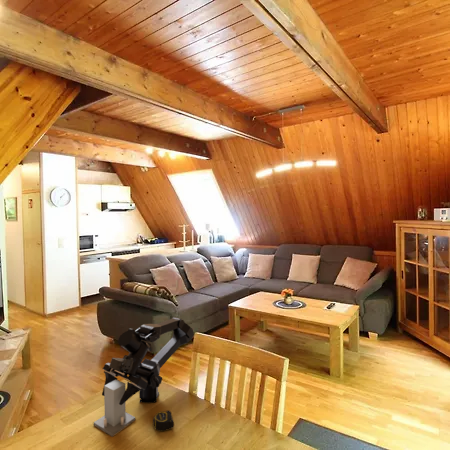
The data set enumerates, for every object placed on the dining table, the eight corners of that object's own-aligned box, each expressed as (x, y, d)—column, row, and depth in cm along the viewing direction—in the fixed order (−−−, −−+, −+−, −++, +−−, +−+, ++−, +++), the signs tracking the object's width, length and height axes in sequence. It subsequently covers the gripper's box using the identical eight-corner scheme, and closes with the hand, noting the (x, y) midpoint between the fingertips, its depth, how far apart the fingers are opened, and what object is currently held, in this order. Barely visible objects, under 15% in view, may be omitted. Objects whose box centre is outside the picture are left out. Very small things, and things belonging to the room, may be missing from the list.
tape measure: (174, 431, 111) (174, 420, 111) (153, 435, 109) (154, 424, 108) (171, 418, 117) (171, 408, 117) (152, 422, 115) (152, 412, 115)
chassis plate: (117, 409, 121) (116, 400, 121) (135, 419, 116) (135, 410, 116) (93, 425, 113) (93, 415, 113) (112, 436, 108) (112, 426, 107)
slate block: (116, 413, 118) (116, 379, 117) (125, 418, 115) (125, 383, 114) (104, 420, 114) (104, 385, 113) (113, 426, 111) (113, 390, 110)
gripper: (106, 341, 121) (80, 383, 112) (141, 355, 111) (115, 402, 102) (123, 353, 128) (99, 394, 120) (157, 367, 118) (134, 412, 110)
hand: (111, 400), depth 113 cm, fingers open, 9 cm apart
